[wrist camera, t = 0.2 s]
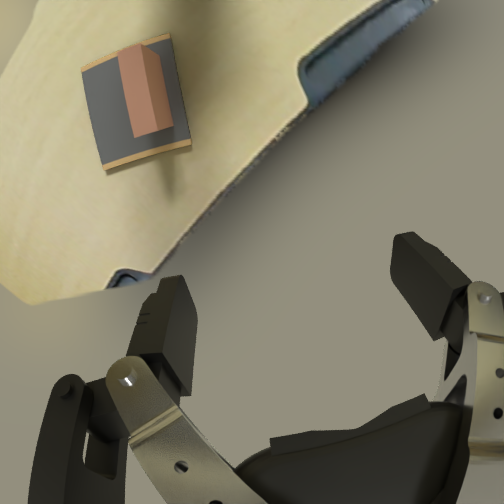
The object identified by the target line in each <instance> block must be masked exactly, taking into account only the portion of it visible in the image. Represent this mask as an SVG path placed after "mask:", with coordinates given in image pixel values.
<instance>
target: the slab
mask: <svg viewBox="0 0 504 504" xmlns="http://www.w3.org/2000/svg"><path fill="white" fill-rule="evenodd" d="M117 55H118V61H119V67H120V73H121V79H122V84H123V89H124V94H125V99H126V104H127V108H128V113H129V117H130V122H131V126H132V130H133V134H134V138H136V137H139V136H142V135H145V134H149V133H152V132H155V131H158V130H162V129H165V128H168V127H171V126H174V124H173V120H172V115H171V111H170V106H169V101H168V96H167V92H166V87H165V82H164V76H163V71H162V66H161V61H160V56H159V55H158V54H156V53H155V52H153V51H152V50H150V49H149V48H147V47H146V46H144V45H143V44H141V43H139V44H136V45H133V46H130V47H128V48H125V49H123V50H120V51H118V52H117Z"/></svg>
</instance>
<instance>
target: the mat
mask: <svg viewBox="0 0 504 504" xmlns="http://www.w3.org/2000/svg"><path fill="white" fill-rule="evenodd" d="M139 43H141V44H143V45H144V46H146V47H147V48H149V49H150V50H152V51H153V52H155V53H156V54H158V55H159V56H160V61H161V66H162V71H163V76H164V82H165V87H166V92H167V96H168V101H169V106H170V111H171V115H172V120H173V124H174V126H171V127H168V128H165V129H162V130H158V131H155V132H152V133H149V134H145V135H142V136H139V137H136V138H134V134H133V130H132V126H131V122H130V117H129V113H128V108H127V104H126V99H125V94H124V89H123V84H122V79H121V73H120V67H119V61H118V55H117V52H118V51H120V50H118V51H116V52H114V53H111V54H109V55H107V56H104V57H102V58H100V59H98V60H96V61H94V62H92V63H89V64H87V65H85V66H83V67H82V68H81V72H82V78H83V84H84V90H85V95H86V100H87V105H88V110H89V115H90V119H91V124H92V128H93V132H94V136H95V140H96V144H97V148H98V152H99V155H100V159H101V162H102V166H103V170H107V169H110V168H113V167H116V166H118V165H121V164H124V163H128V162H131V161H134V160H137V159H140V158H144V157H147V156H150V155H154V154H157V153H161V152H164V151H168V150H172V149H176V148H180V147H184V146H188V145H192V141H191V136H190V132H189V127H188V122H187V118H186V113H185V108H184V104H183V99H182V94H181V89H180V84H179V79H178V74H177V69H176V64H175V58H174V53H173V48H172V42H171V36H170V33H167V34H164V35H160V36H157V37H154V38H151V39H148V40H145V41H142V42H139ZM139 43H136V44H139ZM136 44H134V45H136ZM131 46H133V45H131ZM128 47H130V46H128ZM128 47H126V48H128ZM123 49H125V48H123ZM123 49H121V50H123Z"/></svg>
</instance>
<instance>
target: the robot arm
mask: <svg viewBox="0 0 504 504" xmlns="http://www.w3.org/2000/svg"><path fill="white" fill-rule="evenodd" d="M390 274H391V279H392V281H393V283H394V285H395V286H396V287H397V289H398V290H399V291H400V293H401V294H402V296H403V297H404V298H405V300H406V301H407V303H408V304H409V305H410V307H411V308H412V310H413V311H414V312H415V314H416V315H417V317H418V318H419V320H420V321H421V323H422V324H423V326H424V327H425V329H426V330H427V332H428V333H429V335H430V336H431V338H432V339H433V341H435V340H438V339H440V338H442V337H445V338H446V339H447V341H446V343H445V345H444V353H443V361H442V368H441V375H440V381H439V386H438V390H437V393H436V395H435V397H434V400H433V401H432V402H428V400H427V398H426V396H425V394H422V395H420V396H417V397H415V398H413V399H410V400H408V401H405V402H403V403H401V404H398V405H395V406H393V407H391V408H389V409H388V410H386V411H385V412H383V413H382V414H380V415H379V416H377V417H376V418H374V419H372V420H371V421H369V422H368V423H366V424H364V425H363V426H361V427H359V428H356V429H351V430H328V431H327V430H326V431H307V432H303V433H298V434H292V435H287V436H281V437H275V438H270V446H271V447H269V448H266V449H264V450H262V451H260V452H258V453H256V454H254V455H252V456H251V457H249V458H247V459H246V460H244V461H243V462H242V463H241V464H239V465H238V466H237V467H236V468H234V467H233V466H232V465H231V464H230V463H229V462H228V461H227V460H226V459H225V458H224V457H223V456H222V455H221V454H220V453H219V452H218V451H217V450H216V449H215V448H214V446H212V444H211V443H210V442H209V441H208V440H207V439H206V438H205V437H204V435H203V434H202V433H201V432H200V431H199V430H198V428H197V427H196V426H195V425H194V424H193V423H192V421H191V420H190V419H189V418H188V417H187V415H186V414H185V413H184V412H183V410H182V409H181V408H180V407H179V404H180V397H181V396H191V391H192V378H193V366H194V353H195V343H196V333H197V322H198V320H197V312H196V308H195V305H194V303H193V300H192V297H191V295H190V292H189V290H188V287H187V284H186V282H185V279H184V277H183V276H182V275H177V276H171V277H166V278H162V279H161V280H160V284H159V287H158V290H157V293H152V294H150V296H149V297H148V298H147V299H146V301H145V302H144V303H143V304H142V308H141V310H140V313H139V317H138V319H137V322H136V323H137V325H136V326H135V328H134V331H133V335H132V338H131V341H130V344H129V347H128V351H127V354H126V357H124V358H121V359H119V360H117V361H116V362H115V363H114V364H113V365H112V366H111V367H110V368H109V370H108V372H107V374H106V377H105V378H101V379H99V380H95V381H92V382H88V383H85V382H84V381H83V380H82V379H81V378H80V377H79V376H78V375H75V374H69V375H65V376H63V377H62V378H60V379H59V380H58V381H57V382H56V384H55V385H54V387H53V389H52V392H51V395H50V398H49V401H48V405H47V408H46V412H45V414H44V418H43V422H42V425H41V429H40V434H39V438H38V442H37V446H36V451H35V456H34V461H33V467H32V473H31V479H30V486H29V495H28V504H125V477H126V476H125V475H126V460H127V447H128V443H129V445H130V448H131V449H132V451H133V453H134V455H135V457H136V458H137V460H138V461H139V463H140V465H141V466H142V468H143V470H144V471H145V473H146V474H147V476H148V477H149V479H150V480H151V482H152V483H153V485H154V486H155V488H156V489H157V490H158V492H159V493H160V495H161V496H162V497H163V499H164V500H165V501H166V503H167V504H504V292H502V293H499V292H498V290H497V289H496V288H495V287H493V286H492V285H491V284H489V283H486V282H483V281H475V282H472V281H471V280H470V279H469V278H468V277H467V276H466V275H465V274H464V273H463V272H462V271H461V270H460V269H459V268H458V267H457V266H456V265H455V264H454V263H453V262H451V260H450V259H449V258H448V257H447V256H444V254H443V253H442V252H441V251H440V250H439V249H438V248H437V247H435V246H433V245H431V244H429V243H427V242H425V241H424V240H423V239H422V238H421V237H419V236H418V235H417V234H416V233H415V232H407V233H402V234H397V235H395V237H394V240H393V250H392V258H391V266H390ZM86 432H87V433H89V439H88V444H87V450H86V457H85V464H84V462H83V456H82V455H83V449H84V443H85V437H86ZM129 436H131V438H129V439H128V437H129Z"/></svg>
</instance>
